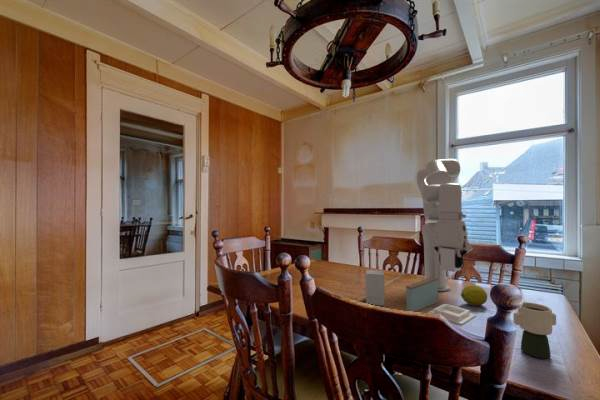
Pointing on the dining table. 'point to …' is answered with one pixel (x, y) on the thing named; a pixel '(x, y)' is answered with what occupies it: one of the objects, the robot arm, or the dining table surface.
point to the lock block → (448, 259)
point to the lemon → (474, 295)
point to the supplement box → (375, 287)
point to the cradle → (454, 313)
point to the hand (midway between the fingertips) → (450, 265)
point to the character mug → (535, 328)
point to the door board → (422, 294)
